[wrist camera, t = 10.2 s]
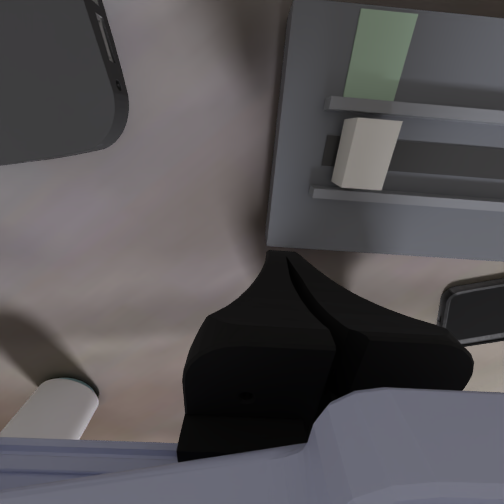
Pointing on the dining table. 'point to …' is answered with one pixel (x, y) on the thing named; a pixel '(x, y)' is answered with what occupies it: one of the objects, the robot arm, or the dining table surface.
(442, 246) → the panel
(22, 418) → the can
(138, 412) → the dining table surface
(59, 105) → the media streaming box
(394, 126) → the block
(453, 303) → the phone
